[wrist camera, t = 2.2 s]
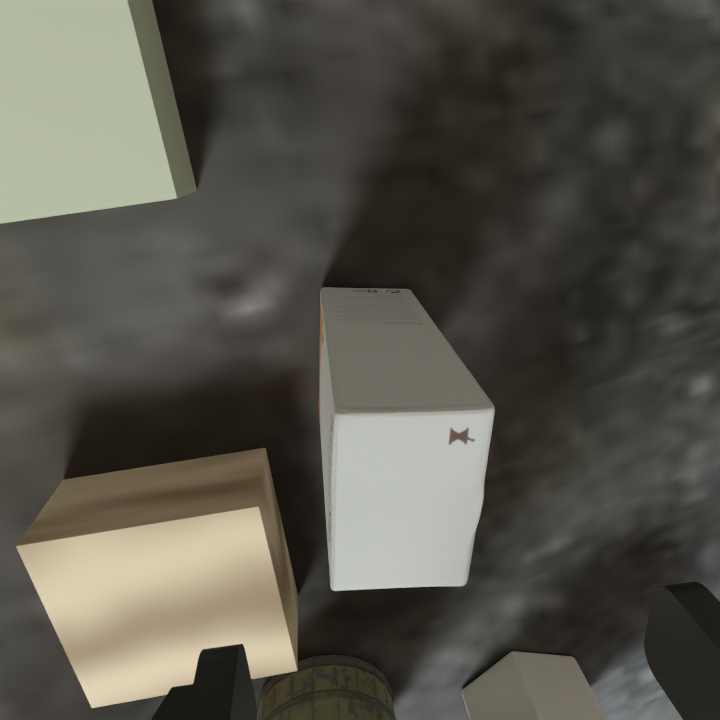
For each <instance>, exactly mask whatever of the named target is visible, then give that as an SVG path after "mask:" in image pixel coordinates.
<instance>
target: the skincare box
mask: <svg viewBox="0 0 720 720" xmlns="http://www.w3.org/2000/svg"><path fill="white" fill-rule="evenodd" d="M494 414H495V408H494V405H493V404H492V402H491V401H490V399H489V398H488V396H487V395H486V394H485V392H484V391H483V390H482V388H481V387H480V386H479V384H478V383H477V381H476V380H475V378H474V377H473V376H472V374H471V373H470V372H469V370H468V369H467V368H466V366H465V365H464V363H463V362H462V361H461V359H460V358H459V357H458V355H457V354H456V352H455V351H454V350H453V348H452V347H451V345H450V344H449V343H448V341H447V340H446V339H445V337H444V336H443V334H442V333H441V332H440V330H439V329H438V328H437V326H436V325H435V323H434V322H433V321H432V319H431V318H430V316H429V315H428V314H427V312H426V311H425V309H424V308H423V306H422V305H421V304H420V302H419V301H418V300H417V298H416V297H415V296H414V294H413V293H412V291H411V290H410V289H386V288H333V287H323V288H321V290H320V377H319V416H320V433H321V449H322V466H323V482H324V497H325V513H326V528H327V543H328V558H329V572H330V587H331V589H332V590H333V591H343V590H365V589H385V588H409V587H436V586H464V585H465V584H466V583H467V580H468V576H469V570H470V563H471V557H472V551H473V545H474V539H475V533H476V528H477V525H478V522H479V519H480V514H481V510H482V505H483V499H484V482H485V473H486V467H487V461H488V453H489V446H490V440H491V434H492V427H493V420H494Z"/></svg>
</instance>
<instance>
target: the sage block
mask: <svg viewBox="0 0 720 720" xmlns="http://www.w3.org/2000/svg"><path fill="white" fill-rule="evenodd" d="M195 191H197V188H196V184H195V180H194V176H193V171H192V167H191V163H190V159H189V154H188V150H187V146H186V142H185V138H184V133H183V129H182V125H181V121H180V116H179V112H178V108H177V104H176V100H175V95H174V91H173V87H172V83H171V78H170V74H169V70H168V66H167V61H166V57H165V53H164V49H163V45H162V40H161V36H160V32H159V28H158V23H157V19H156V15H155V11H154V7H153V2H152V0H0V224H1V223H8V222H15V221H22V220H29V219H36V218H43V217H50V216H57V215H64V214H71V213H78V212H85V211H92V210H99V209H106V208H114V207H121V206H128V205H135V204H142V203H149V202H156V201H163V200H170V199H177V198H180V197H182V196H185V195H187V194H190V193H192V192H195Z"/></svg>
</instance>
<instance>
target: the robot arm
mask: <svg viewBox="0 0 720 720" xmlns="http://www.w3.org/2000/svg"><path fill="white" fill-rule="evenodd" d="M644 648H645V654H646V658H647V661H648V664H649V666H650V669H651V671H652V673H653V675H654V676H655V678H656V680H657V681H658V683H659V684H660V686H661V687H662V689H663V690H664V692H665V693H666V695H667V696H668V698H669V699H670V701H671V702H672V704H673V705H674V707H675V708H676V710H677V711H678V712H679V714H680V715H681V717H682V718H683V720H720V602H719V601H718V600H717V599H716V597H715V596H714V595H713V594H712V593H711V592H710V591H709V590H708V589H707V588H706V587H705V586H703V585H702V584H700V583H698V582H689V583H682V584H675V585H667V586H660V587H657V588H656V589H655V590H654V592H653V596H652V601H651V607H650V612H649V618H648V623H647V629H646V634H645V640H644ZM152 720H257V710H256V700H255V694H254V690H253V685H252V680H251V676H250V671H249V666H248V662H247V657H246V652H245V648H244V645H243V644H237V645H230V646H223V647H216V648H209V649H203V650H202V651H201V653H200V655H199V658H198V663H197V668H196V673H195V678H194V683H193V684H191V685H184V686H177V687H171V689H170V691H169V692H168V694H167V695H166V697H165V698H164V700H163V702H162V703H161V705H160V706H159V708H158V709H157V711H156V713H155V714H154V716H153V717H152Z"/></svg>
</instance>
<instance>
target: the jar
mask: <svg viewBox="0 0 720 720" xmlns="http://www.w3.org/2000/svg"><path fill="white" fill-rule="evenodd" d="M462 696H463V700H464V703H465V707H466V710H467V713H468V717H469V720H608V719H607V717H606V715H605V713H604V711H603V710H602V708H601V706H600V704H599V702H598V700H597V698H596V697H595V695H594V693H593V691H592V689H591V687H590V685H589V684H588V682H587V680H586V678H585V676H584V674H583V672H582V671H581V669H580V667H579V665H578V663H577V661H576V659H575V658H574V657H572V656H563V655H552V654H541V653H530V652H519V651H511V652H510V653H508V654H507V655H506V656H505V657H503V658H502V659H501V660H499V661H498V662H497V663H496V664H494V665H493V666H492V667H490V668H489V669H488V670H487V671H485V672H484V673H483V674H482V675H480V676H479V677H478V678H476V679H475V680H474V681H473V682H471V683H470V684H469V685H467V686H466V687H465V688H464V689H463V690H462Z"/></svg>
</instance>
